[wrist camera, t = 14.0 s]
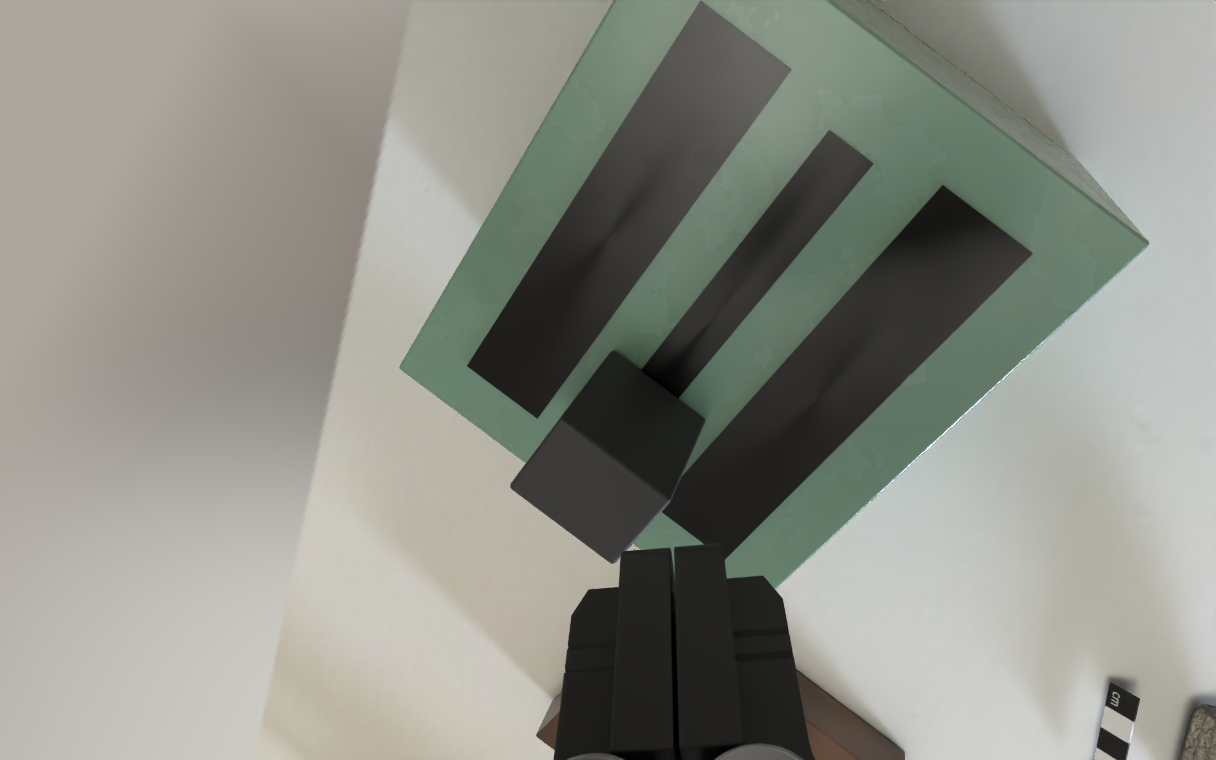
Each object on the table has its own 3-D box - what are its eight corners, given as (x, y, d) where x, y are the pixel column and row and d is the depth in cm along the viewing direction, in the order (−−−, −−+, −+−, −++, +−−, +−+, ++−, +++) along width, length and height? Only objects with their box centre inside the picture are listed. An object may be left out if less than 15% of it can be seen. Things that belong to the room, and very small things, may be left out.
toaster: (519, 272, 33) (396, 368, 25) (749, -91, 26) (680, -115, 18) (778, 467, 33) (738, 625, 25) (1078, 159, 26) (1152, 244, 18)
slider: (566, 411, 24) (507, 487, 20) (613, 348, 22) (559, 417, 19) (655, 479, 24) (612, 566, 20) (708, 418, 23) (671, 501, 19)
